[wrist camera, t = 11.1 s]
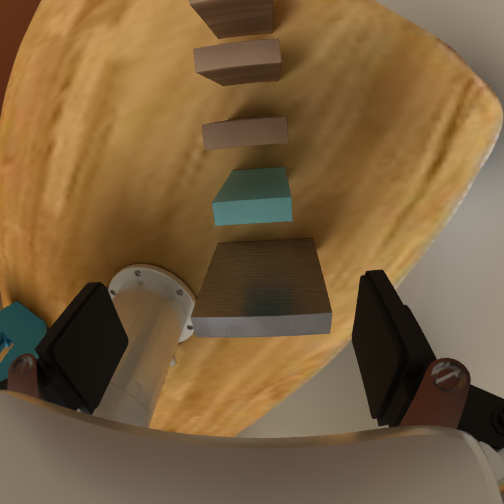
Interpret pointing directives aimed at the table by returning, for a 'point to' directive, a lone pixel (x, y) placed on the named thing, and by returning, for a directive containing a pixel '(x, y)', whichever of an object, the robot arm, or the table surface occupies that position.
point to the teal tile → (253, 197)
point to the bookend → (263, 291)
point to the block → (19, 334)
